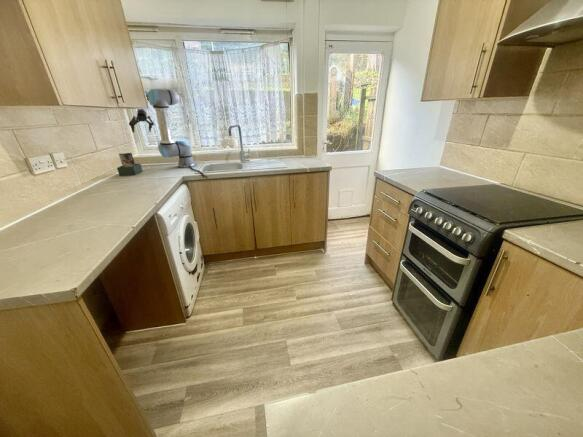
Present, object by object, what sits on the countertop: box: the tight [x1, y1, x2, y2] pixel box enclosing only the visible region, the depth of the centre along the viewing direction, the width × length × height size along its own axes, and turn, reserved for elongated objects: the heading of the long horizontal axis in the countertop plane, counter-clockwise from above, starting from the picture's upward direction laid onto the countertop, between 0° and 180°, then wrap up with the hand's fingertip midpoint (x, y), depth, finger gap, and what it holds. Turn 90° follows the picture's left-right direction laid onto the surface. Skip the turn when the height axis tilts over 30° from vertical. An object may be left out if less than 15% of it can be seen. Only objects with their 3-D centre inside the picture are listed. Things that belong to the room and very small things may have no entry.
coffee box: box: [118, 152, 136, 167], centre depth 207 cm, size 9×6×16 cm
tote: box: [116, 163, 143, 177], centre depth 209 cm, size 15×13×7 cm
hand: (141, 131), depth 217 cm, fingers open, 13 cm apart
